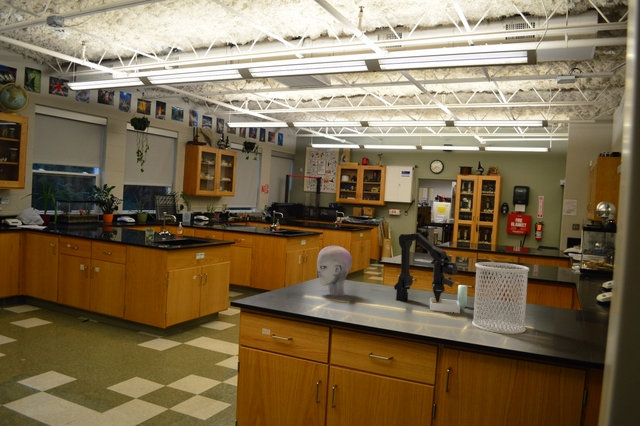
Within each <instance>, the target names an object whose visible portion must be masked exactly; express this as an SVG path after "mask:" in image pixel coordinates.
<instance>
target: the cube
mask: <svg viewBox="0 0 640 426" xmlns="http://www.w3.org/2000/svg"><path fill="white" fill-rule="evenodd" d="M432 298H433V299H432V303H438V304H442V299H443V297H441V296H440V299H439V302H436V299H435V296H432Z"/></svg>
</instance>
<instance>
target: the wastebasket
mask: <svg viewBox="0 0 640 426" xmlns="http://www.w3.org/2000/svg"><path fill="white" fill-rule="evenodd" d="M474 265H475V267H476V269H475V272H476V273H475V286H474V289H475V290H474V303H473V304H474V305H473V307H474V308H473V320H472V322H471V323H472V325H473V326H474V327H475V328H477V329H481V330H483V331H487V332H489V333H490V332H492V333H498V334H506V335H507V334H508V335H512V334H513V335H517V334H522V333H525V332H526V331H527V330H526V327H525V326H526V323H525V322H526V308H527V307H526V306H527V294H528V293H527V291H528V277H529V276H528V275H529V273H528V272H530V267H527V266H525V265H520V264H514V263H506V262H495V261H493V262H491V261H483V262H482V261H480V262H476V263H475V264H474ZM506 290H507V291H506ZM509 299H510V300H509ZM499 303H500V304H499ZM501 307H502V308H501ZM505 308H506V309H505ZM508 317H509V318H508Z"/></svg>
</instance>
